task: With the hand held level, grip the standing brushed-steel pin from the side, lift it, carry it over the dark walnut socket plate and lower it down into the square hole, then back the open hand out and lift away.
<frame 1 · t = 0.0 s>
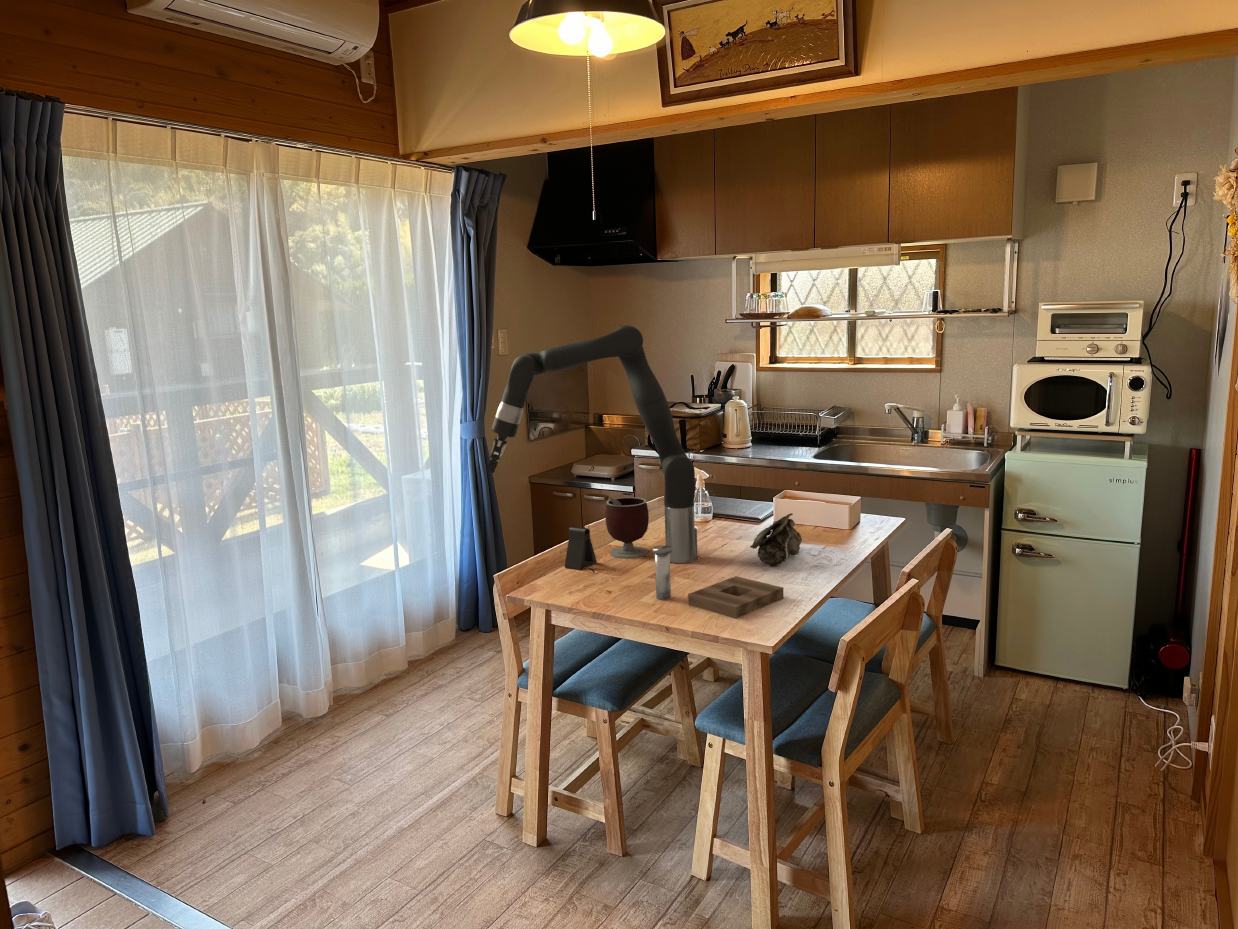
hand: (491, 469, 260), 31 cm above the table, tool tilted 20°, fingers open, 8 cm apart
phone stand: (580, 565, 266), on the table
mate gourd: (626, 554, 277), on the table
camouflage backpack: (775, 559, 265), on the table
socket plate: (736, 601, 228), on the table
steel pin: (663, 597, 233), on the table
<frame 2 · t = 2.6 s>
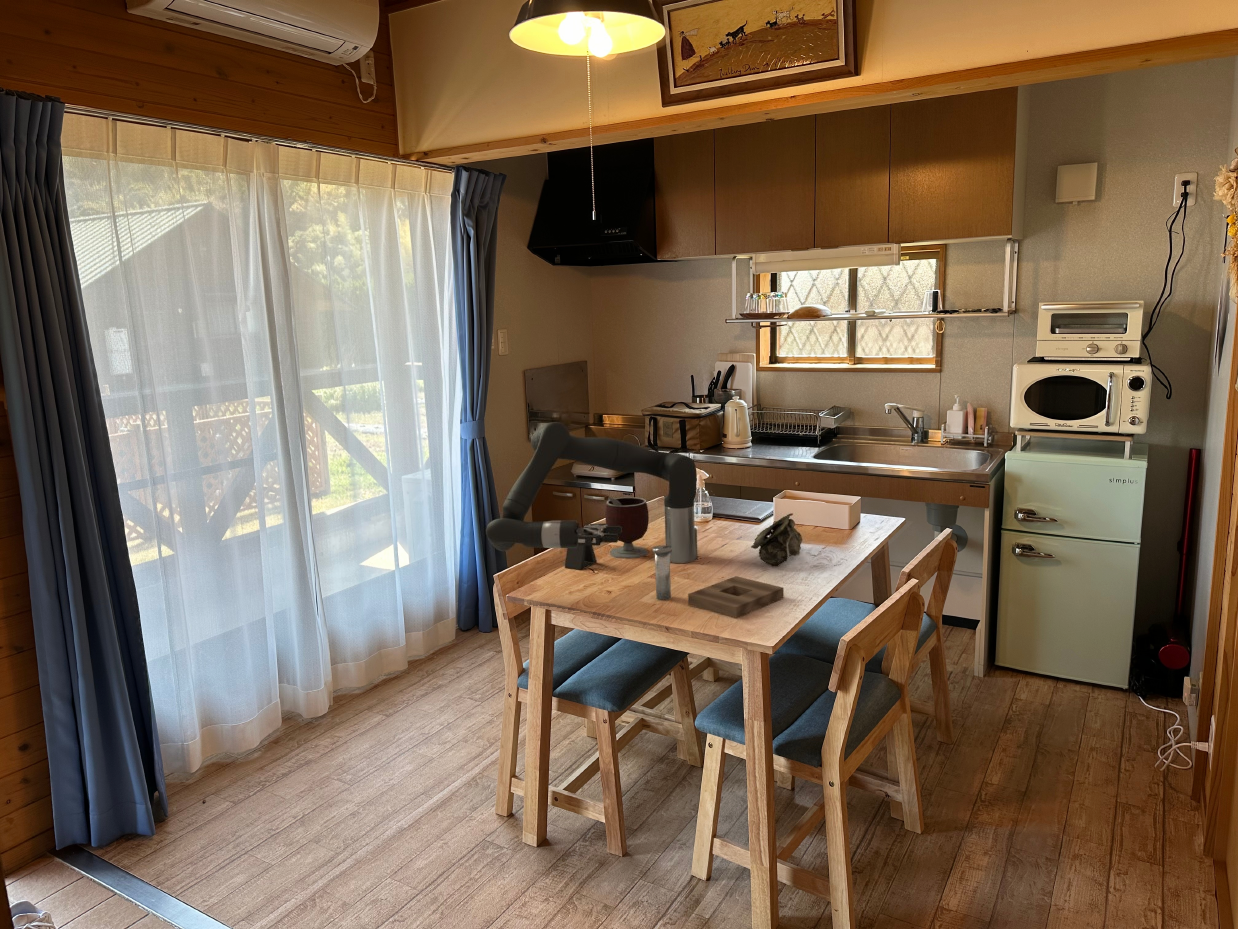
hand: (619, 534, 231), 18 cm above the table, tool horizontal, fingers open, 8 cm apart
nothing on the table moved.
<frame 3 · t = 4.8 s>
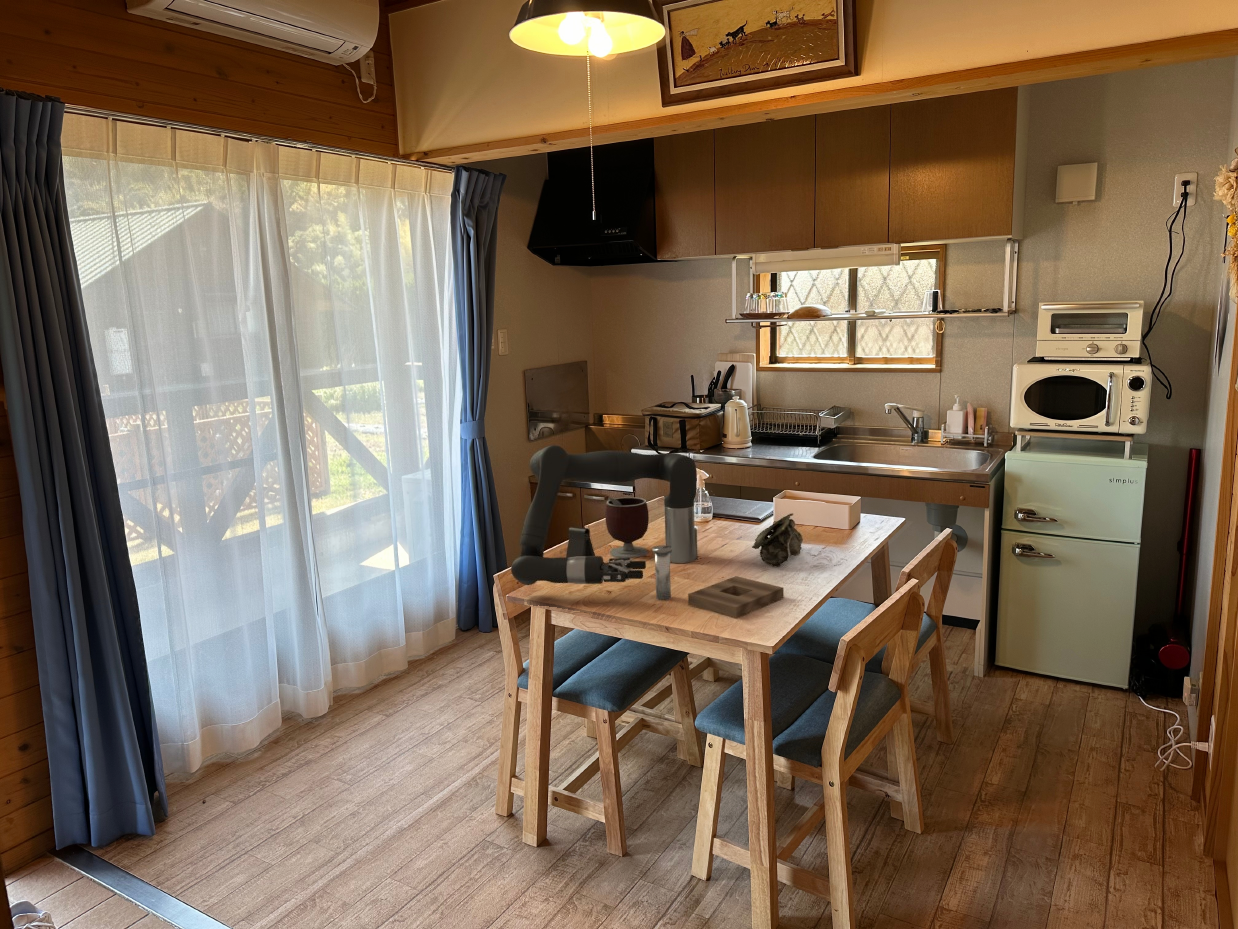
hand: (644, 569, 232), 8 cm above the table, tool horizontal, fingers open, 8 cm apart
nothing on the table moved.
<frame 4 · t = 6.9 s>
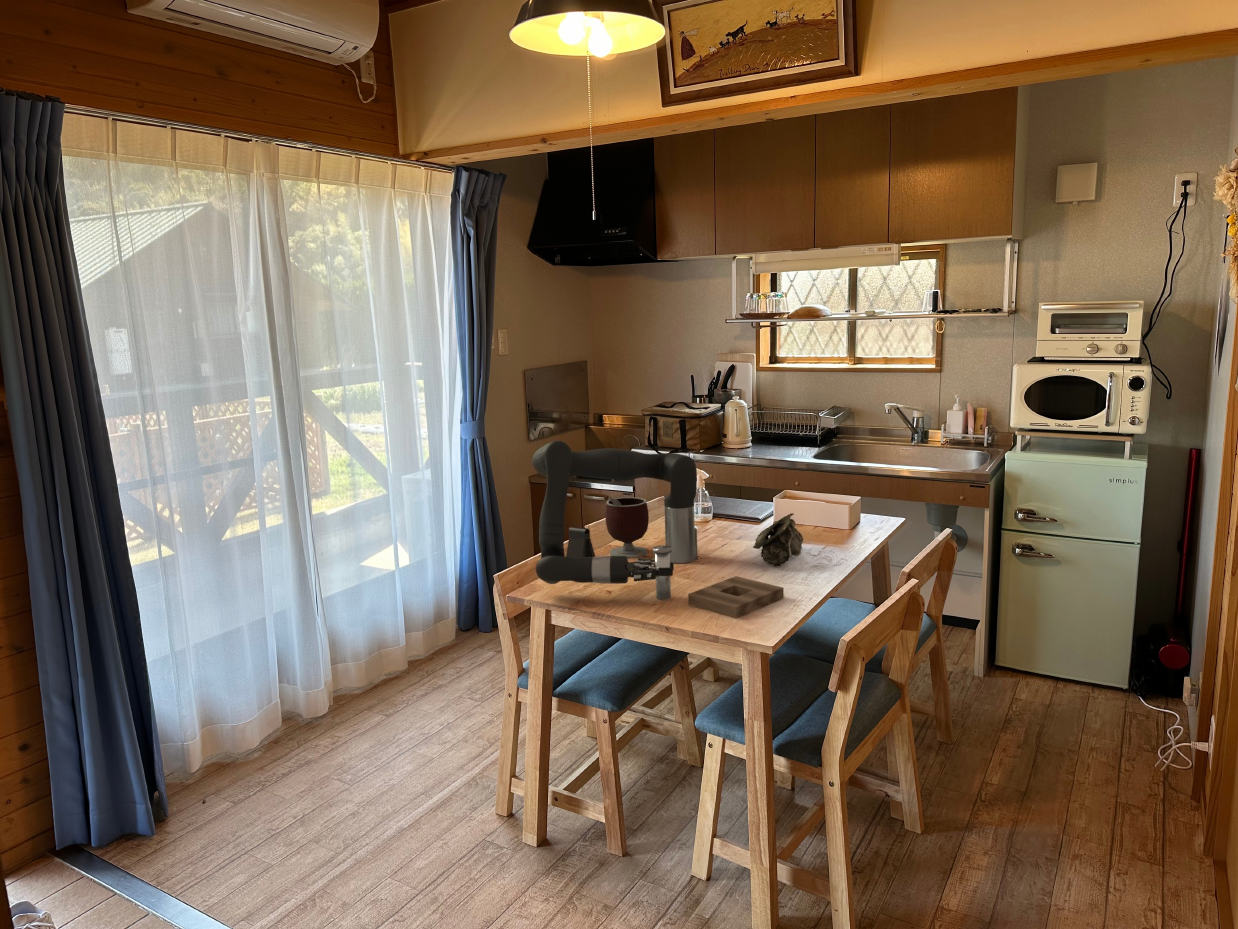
hand: (672, 569, 231), 8 cm above the table, tool horizontal, fingers closed on steel pin, 4 cm apart
steel pin: (663, 597, 233), on the table, touching gripper
everything else where it was.
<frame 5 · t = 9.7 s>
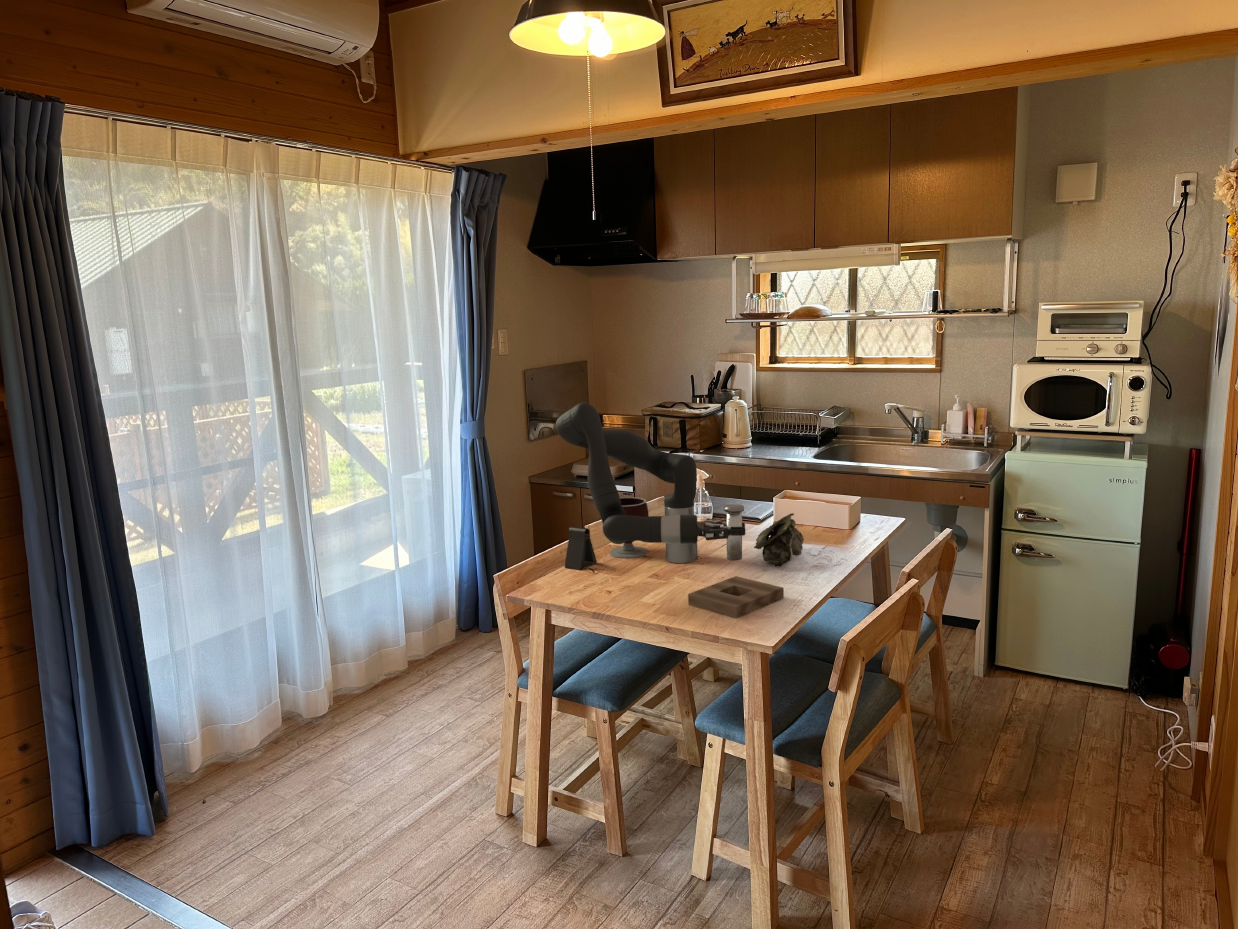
hand: (744, 528, 224), 20 cm above the table, tool horizontal, fingers closed on steel pin, 4 cm apart
steel pin: (734, 558, 225), point 12 cm above the table, touching gripper
everything else where it was.
when the fingers open (9 cm above the table, at t = 12.5 s): steel pin drops 1 cm, resting in socket plate.
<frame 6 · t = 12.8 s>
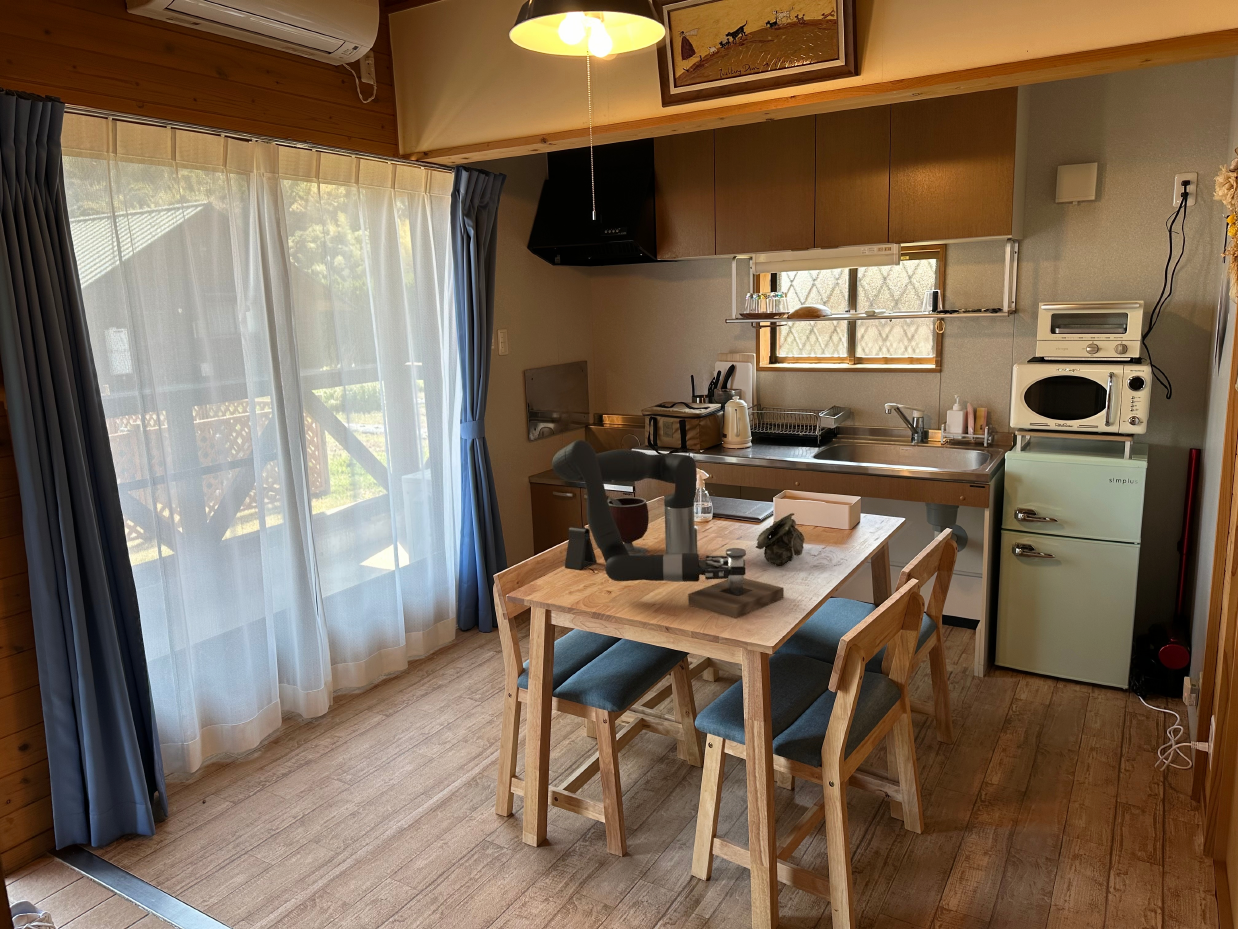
hand: (744, 567, 226), 10 cm above the table, tool horizontal, fingers open, 6 cm apart
steel pin: (735, 601, 228), resting in socket plate
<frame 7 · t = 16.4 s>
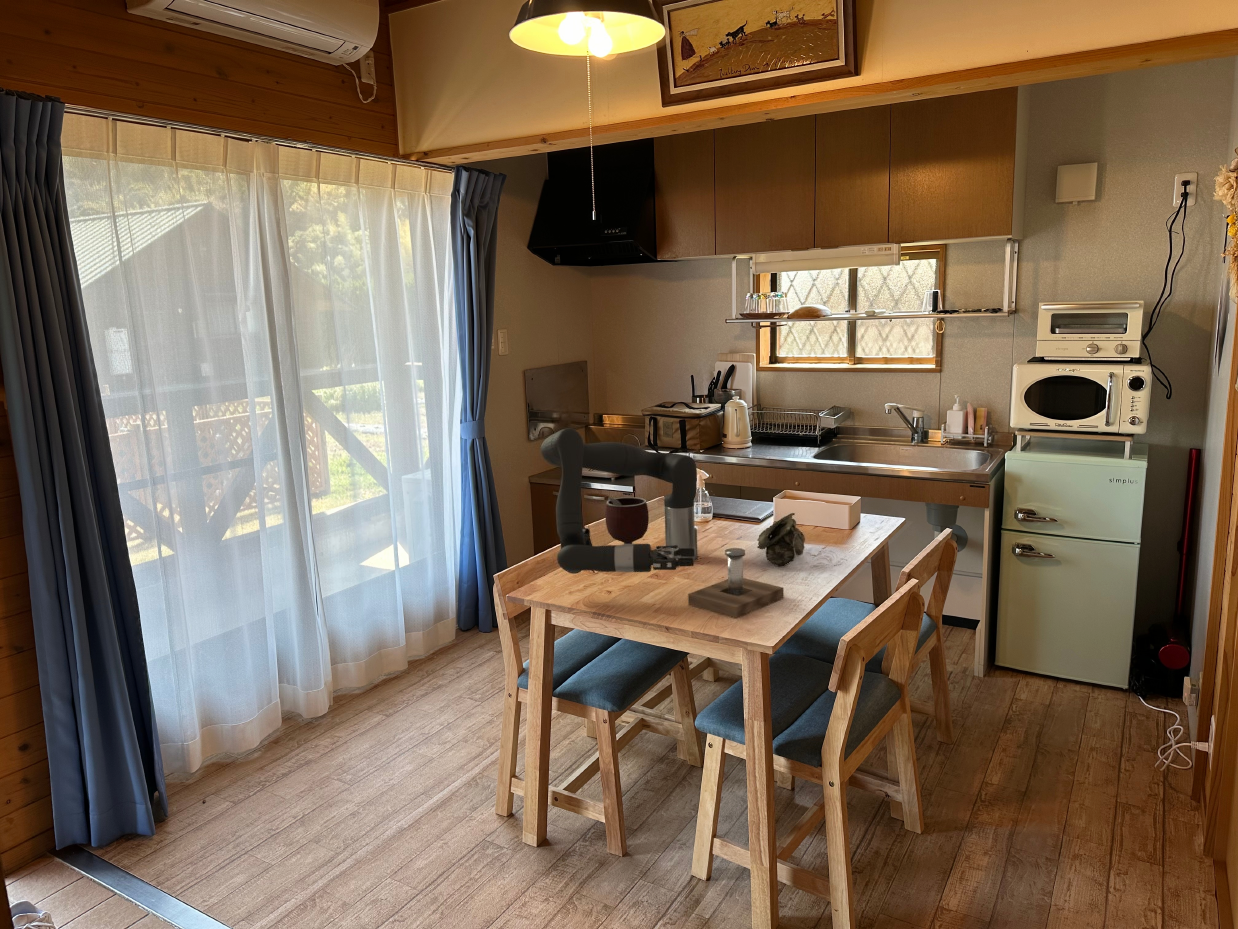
hand: (694, 556, 227), 12 cm above the table, tool horizontal, fingers open, 8 cm apart
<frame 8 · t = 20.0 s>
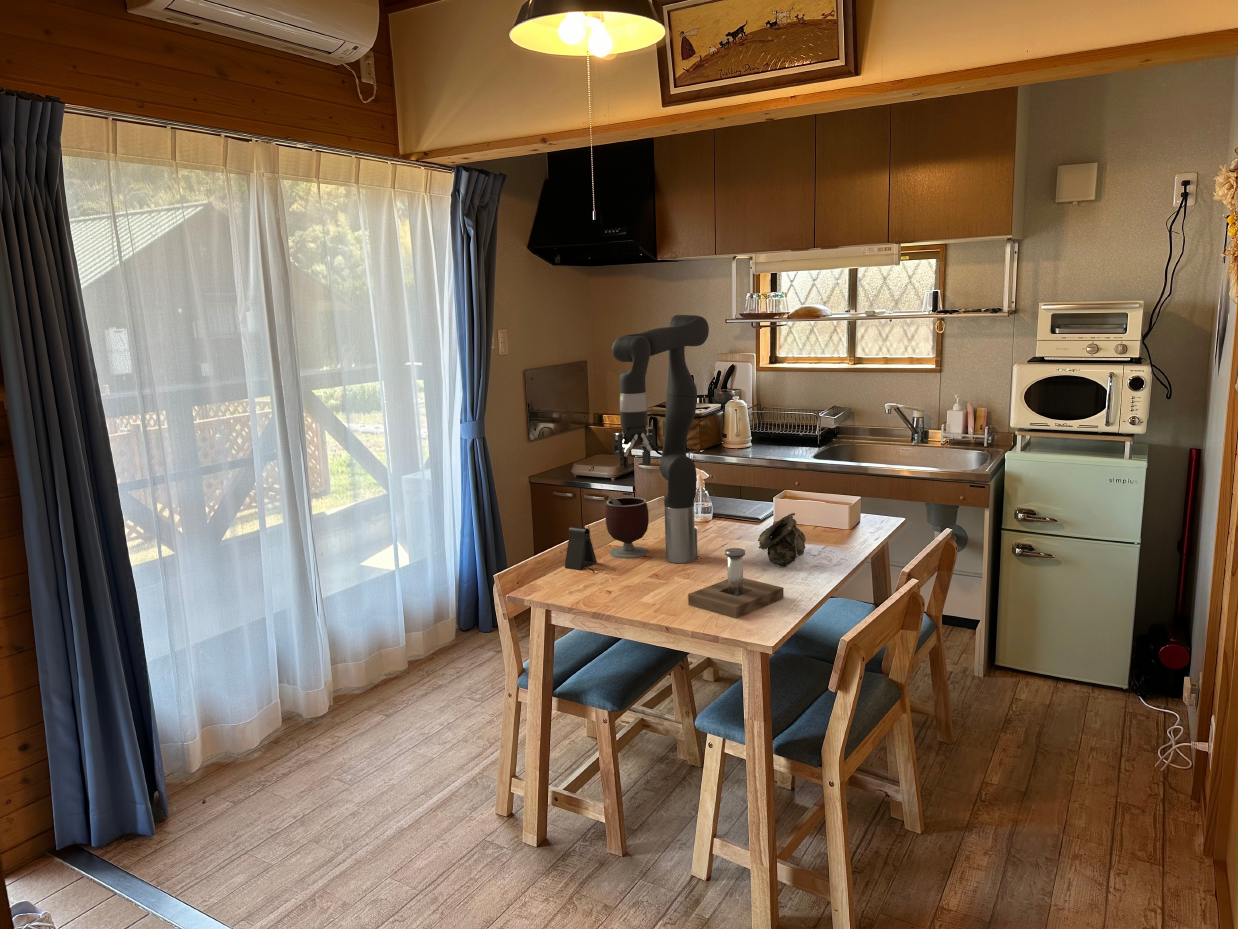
hand: (635, 467, 239), 34 cm above the table, tool pointing down, fingers open, 8 cm apart
at the end: steel pin 0.1 cm off-centre on the socket plate, point 0.0 cm above the socket plate's base; steel pin tilted 0°; the gripper is holding nothing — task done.
